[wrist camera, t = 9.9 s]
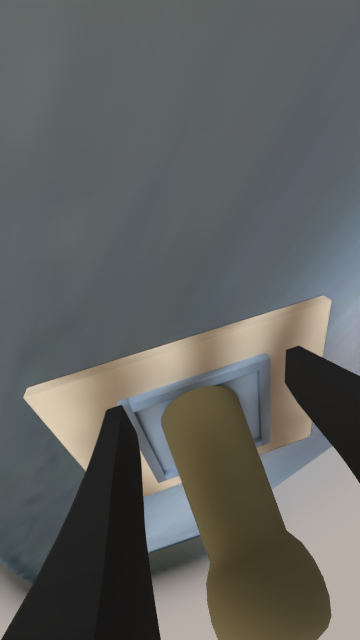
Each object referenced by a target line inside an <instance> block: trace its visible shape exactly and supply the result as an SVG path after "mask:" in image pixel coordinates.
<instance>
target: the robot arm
mask: <svg viewBox="0 0 360 640" xmlns="http://www.w3.org/2000/svg"><path fill="white" fill-rule="evenodd" d="M285 384H286V386H287V387H288V389H289V390H290V392H291V394H292V395H293V397H294V398H295V400H296V401H297V403H298V404H299V405H300V407H301V408H302V409H303V410H304V412H305V413H306V414H307V415H308V416H309V418H310V419H311V420H312V421H313V423H314V424H315V425H316V426H317V427H318V429H319V430H320V431H321V432H322V433H323V435H324V436H325V437H326V438H327V440H328V441H329V442H330V443H331V444H332V446H333V447H334V448H335V449H336V450H337V452H338V453H339V454H340V456H341V457H342V458H343V460H344V461H345V462H346V464H347V465H348V467H349V468H350V470H351V471H352V472H353V474H354V475H355V476H356V478H357V480H358V481H359V483H360V376H358V375H356V374H354V373H352V372H350V371H348V370H346V369H344V368H342V367H340V366H338V365H336V364H334V363H332V362H330V361H328V360H326V359H324V358H322V357H320V356H319V355H317V354H315V353H313V352H311V351H309V350H307V349H305V348H303V347H301V346H296V347H293V348H290V349H287V350H286V358H285ZM1 640H161V638H160V633H159V626H158V619H157V613H156V607H155V600H154V594H153V586H152V579H151V572H150V565H149V558H148V550H147V542H146V534H145V522H144V502H143V483H142V464H141V454H140V448H139V442H138V436H137V432H136V430H135V428H134V426H133V425H132V423H131V421H130V419H129V417H128V415H127V413H126V411H125V410H124V408H123V406H122V405H119V406H116V407H113V408H110V409H107V410H106V412H105V415H104V419H103V422H102V426H101V429H100V432H99V435H98V438H97V441H96V444H95V447H94V450H93V453H92V456H91V459H90V461H89V464H88V467H87V470H86V472H85V475H84V477H83V480H82V482H81V485H80V487H79V490H78V492H77V495H76V497H75V500H74V502H73V504H72V506H71V509H70V511H69V513H68V515H67V518H66V520H65V522H64V524H63V526H62V528H61V530H60V532H59V535H58V537H57V539H56V541H55V543H54V545H53V547H52V549H51V551H50V552H49V554H48V556H47V558H46V560H45V562H44V564H43V566H42V568H41V570H40V572H39V574H38V576H37V577H36V579H35V581H34V583H33V585H32V587H31V589H30V590H29V592H28V594H27V596H26V597H25V599H24V601H23V603H22V604H21V606H20V608H19V610H18V611H17V613H16V615H15V616H14V618H13V620H12V622H11V624H10V625H9V627H8V629H7V631H6V632H5V634H4V636H3V637H2V639H1Z"/></svg>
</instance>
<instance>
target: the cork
mask: <svg viewBox="0 0 360 640" xmlns="http://www.w3.org/2000/svg"><path fill="white" fill-rule="evenodd" d="M161 426H162V429H163V432H164V434H165V437H166V440H167V443H168V446H169V448H170V451H171V454H172V457H173V459H174V462H175V465H176V468H177V471H178V473H179V476H180V479H181V482H182V485H183V487H184V490H185V493H186V496H187V499H188V501H189V504H190V507H191V510H192V512H193V515H194V518H195V521H196V524H197V526H198V529H199V532H200V535H201V538H202V540H203V543H204V546H205V549H206V551H207V554H208V557H209V560H210V567H209V572H208V578H207V583H206V585H207V602H208V608H209V613H210V616H211V622H212V625H213V628H214V630H215V633H216V635H217V638H218V640H317V639H318V638H319V637H320V636H321V635H322V634H323V632H324V631H325V630H326V629H327V628H328V625H329V622H330V619H331V608H330V599H329V594H328V591H327V588H326V584H325V581H324V578H323V576H322V574H321V572H320V570H319V568H318V566H317V564H316V562H315V560H314V559H313V557H312V556H311V554H310V553H309V552H308V550H307V549H306V548H305V546H304V545H303V544H302V542H300V541H299V540H298V539H297V538H295V537H294V536H293V535H292V534H290V533H289V532H288V531H287V530H286V528H285V525H284V522H283V520H282V517H281V514H280V512H279V509H278V506H277V503H276V500H275V498H274V495H273V492H272V489H271V487H270V484H269V481H268V478H267V476H266V473H265V470H264V467H263V465H262V462H261V459H260V456H259V453H258V451H257V448H256V445H255V442H254V440H253V437H252V434H251V431H250V429H249V426H248V423H247V420H246V418H245V415H244V412H243V409H242V407H241V404H240V401H239V398H238V396H237V394H236V393H235V392H234V391H233V390H232V389H229V388H226V387H224V386H206V387H200V388H197V389H194V390H191V391H189V392H186V393H184V394H183V395H181V396H180V397H178V398H176V399H175V400H173V402H172V403H171V404H170V405H169V406H168V407H167V408H166V409H165V411H164V413H163V415H162V417H161Z"/></svg>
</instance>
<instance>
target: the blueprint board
mask: <svg viewBox="0 0 360 640" xmlns="http://www.w3.org/2000/svg"><path fill="white" fill-rule="evenodd" d="M331 301H332V300H330V299H328V298H326V297H325V296H323V295H322V296H319V297H316V298H313V299H310V300H306V301H303V302H300V303H297V304H294V305H290V306H287V307H284V308H281V309H278V310H274V311H271V312H268V313H265V314H262V315H258V316H255V317H252V318H249V319H246V320H242V321H239V322H236V323H233V324H230V325H226V326H223V327H220V328H217V329H214V330H210V331H207V332H204V333H201V334H198V335H194V336H191V337H188V338H185V339H182V340H179V341H175V342H172V343H169V344H166V345H163V346H159V347H156V348H153V349H150V350H147V351H143V352H140V353H137V354H134V355H131V356H127V357H124V358H121V359H118V360H115V361H111V362H108V363H105V364H102V365H99V366H95V367H92V368H89V369H86V370H83V371H79V372H76V373H73V374H70V375H67V376H63V377H60V378H57V379H54V380H51V381H47V382H44V383H41V384H38V385H35V386H31V387H28V388H27V390H26V392H25V395H24V397H23V398H24V399H25V400H26V402H27V403H28V404H29V405H30V406H31V407H32V409H33V410H34V411H35V412H36V413H37V414H38V416H39V417H40V418H41V419H42V420H43V422H44V423H45V424H46V425H47V426H48V427H49V429H50V430H51V431H52V432H53V433H54V434H55V436H56V437H57V438H58V439H59V440H60V441H61V443H62V444H63V445H64V446H65V447H66V448H67V450H68V451H69V452H70V453H71V454H72V456H73V457H74V458H75V459H76V460H77V461H78V463H79V464H80V465H81V466H82V467H83V468H84V470H85V471H86V470H87V467H88V464H89V461H90V459H91V456H92V453H93V450H94V447H95V444H96V441H97V438H98V435H99V432H100V429H101V426H102V422H103V419H104V415H105V412H106V410H107V409H110V408H113V407H116V406H119V405H122V406H123V408H124V410H125V411H126V413H127V415H128V417H129V419H130V421H131V423H132V425H133V426H134V428H135V430H136V432H137V436H138V442H139V448H140V454H141V464H142V483H143V497H145V496H148V495H151V494H153V493H156V492H159V491H161V490H164V489H167V488H170V487H172V486H175V485H178V484H181V483H182V482H181V479H180V476H179V473H178V471H177V468H176V465H175V462H174V459H173V457H172V454H171V451H170V448H169V446H168V443H167V440H166V437H165V434H164V432H163V429H162V426H161V417H162V415H163V413H164V411H165V409H166V408H167V407H168V406H169V405H170V404H171V403H172V402H173V400H175V399H176V398H178V397H180V396H181V395H183V394H184V393H186V392H189V391H191V390H194V389H197V388H200V387H206V386H224V387H226V388H229V389H232V390H233V391H234V392H235V393H236V394H237V396H238V398H239V401H240V404H241V407H242V409H243V412H244V415H245V418H246V420H247V423H248V426H249V429H250V431H251V434H252V437H253V440H254V442H255V445H256V448H257V451H258V453H259V455H260V454H263V453H265V452H268V451H271V450H274V449H276V448H279V447H282V446H285V445H287V444H290V443H293V442H296V441H298V440H301V439H304V438H306V437H309V436H310V432H311V425H312V420H311V419H310V418H309V416H308V415H307V414H306V413H305V412H304V410H303V409H302V408H301V407H300V405H299V404H298V403H297V401H296V400H295V398H294V397H293V395H292V394H291V392H290V390H289V389H288V387H287V386H286V384H285V358H286V350H287V349H290V348H293V347H296V346H301V347H303V348H305V349H307V350H309V351H311V352H313V353H315V354H317V355H319V356H320V357H323V351H324V344H325V338H326V332H327V326H328V320H329V313H330V307H331Z"/></svg>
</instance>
